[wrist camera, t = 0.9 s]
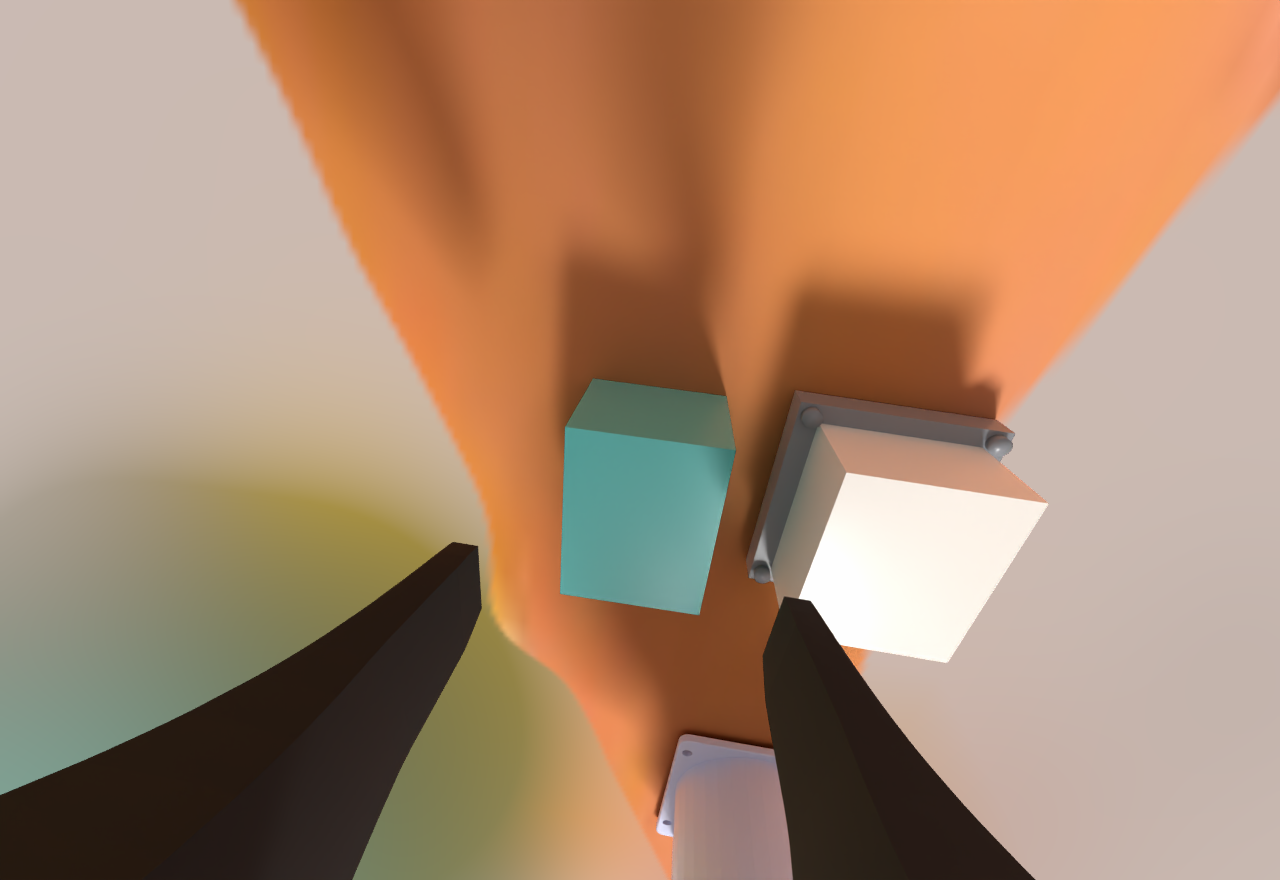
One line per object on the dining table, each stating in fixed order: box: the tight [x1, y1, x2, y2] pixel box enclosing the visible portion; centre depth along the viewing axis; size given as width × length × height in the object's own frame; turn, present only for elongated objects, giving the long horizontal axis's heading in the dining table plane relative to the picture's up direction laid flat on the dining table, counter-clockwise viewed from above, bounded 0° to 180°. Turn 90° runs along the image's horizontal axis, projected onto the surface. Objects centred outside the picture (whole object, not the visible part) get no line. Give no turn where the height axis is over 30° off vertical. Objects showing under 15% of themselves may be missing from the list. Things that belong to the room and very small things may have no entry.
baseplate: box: [746, 390, 1015, 583], centre depth 16 cm, size 7×6×1 cm
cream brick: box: [771, 424, 1049, 663], centre depth 14 cm, size 6×5×3 cm
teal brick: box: [560, 378, 736, 615], centre depth 15 cm, size 6×4×4 cm
